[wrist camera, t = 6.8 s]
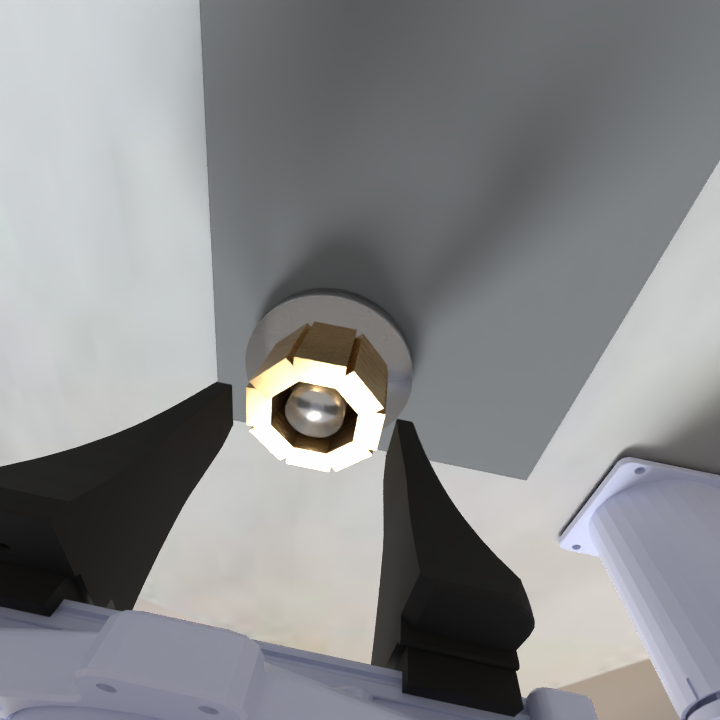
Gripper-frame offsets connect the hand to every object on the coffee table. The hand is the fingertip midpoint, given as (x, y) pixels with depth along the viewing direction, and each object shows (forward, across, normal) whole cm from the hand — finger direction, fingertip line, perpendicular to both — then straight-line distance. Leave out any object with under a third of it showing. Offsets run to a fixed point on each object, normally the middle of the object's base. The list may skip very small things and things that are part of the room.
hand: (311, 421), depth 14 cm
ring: (+3, 0, 0) cm, 3 cm away
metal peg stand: (+4, 0, 0) cm, 4 cm away
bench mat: (+5, -3, -5) cm, 8 cm away
